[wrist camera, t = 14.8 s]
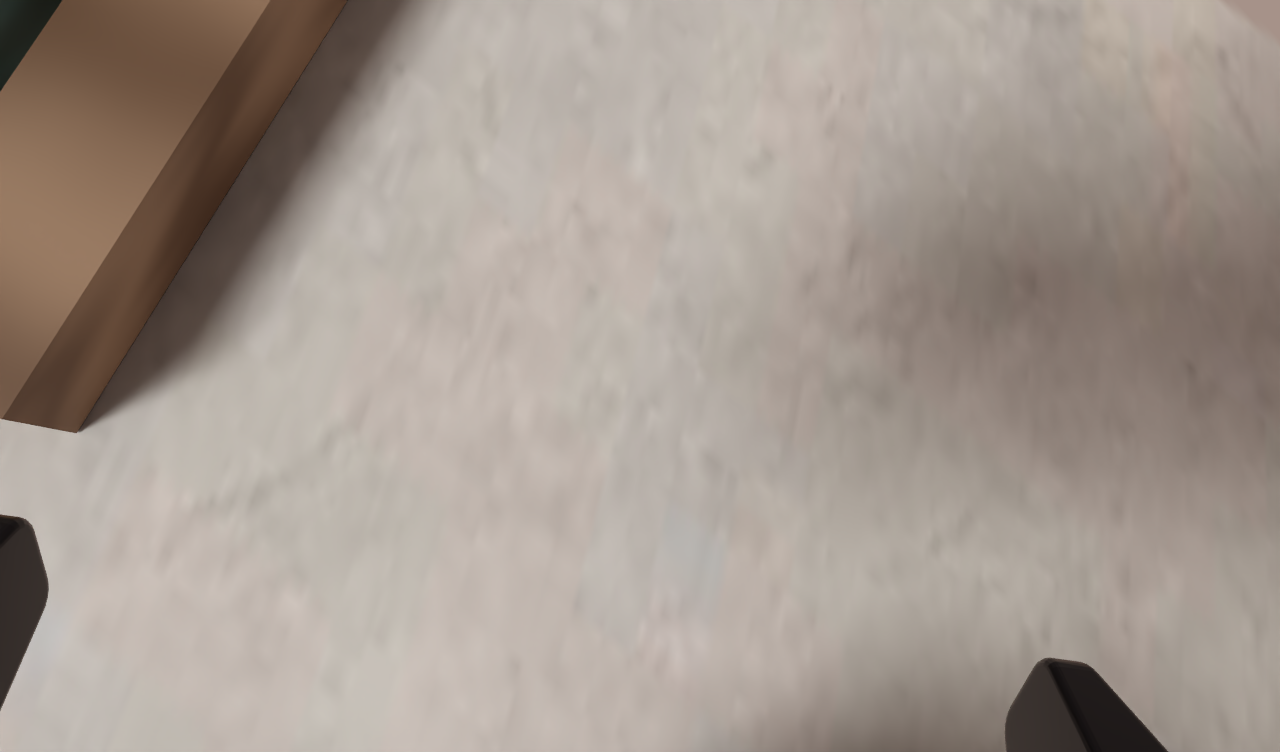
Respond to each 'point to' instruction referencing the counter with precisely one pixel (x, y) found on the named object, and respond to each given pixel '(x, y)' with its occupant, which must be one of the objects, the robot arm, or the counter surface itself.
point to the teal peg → (20, 30)
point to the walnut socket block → (124, 173)
